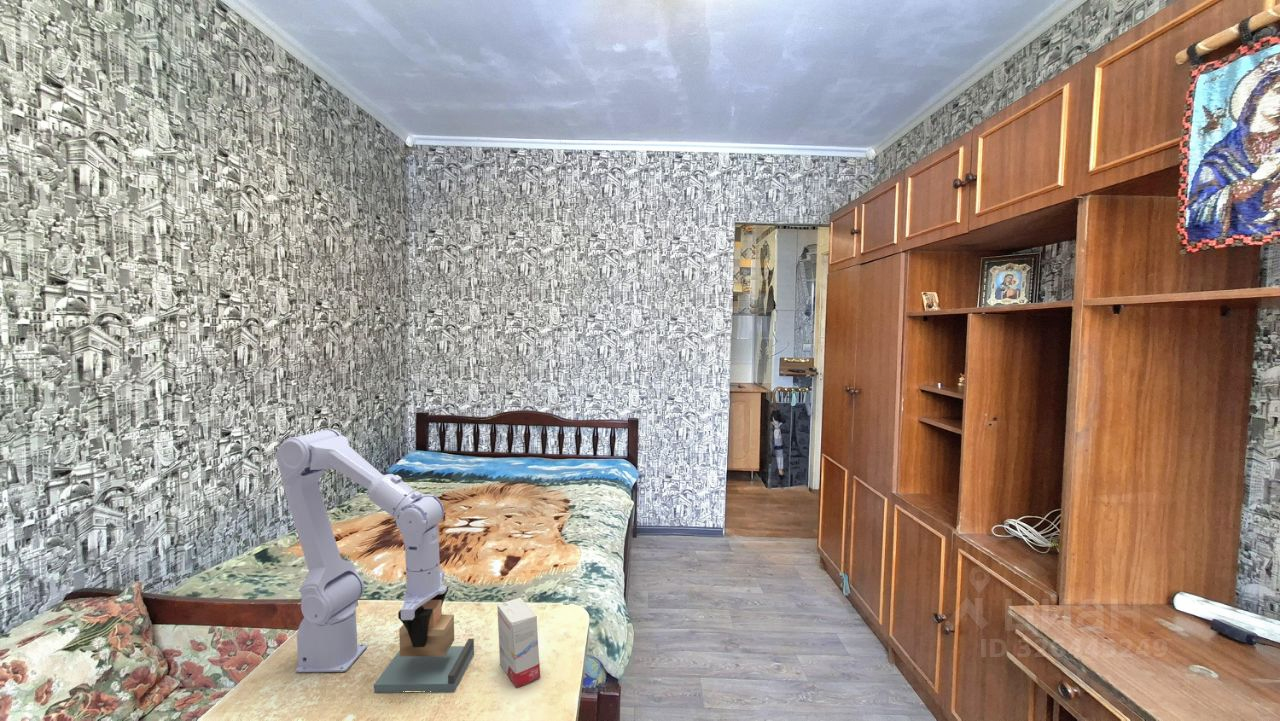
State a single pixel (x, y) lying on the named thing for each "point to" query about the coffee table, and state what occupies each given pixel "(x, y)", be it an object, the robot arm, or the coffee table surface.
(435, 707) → the coffee table surface
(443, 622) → the tan rectangular block
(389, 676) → the dock
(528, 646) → the ink box
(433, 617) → the carton
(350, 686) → the coffee table surface
